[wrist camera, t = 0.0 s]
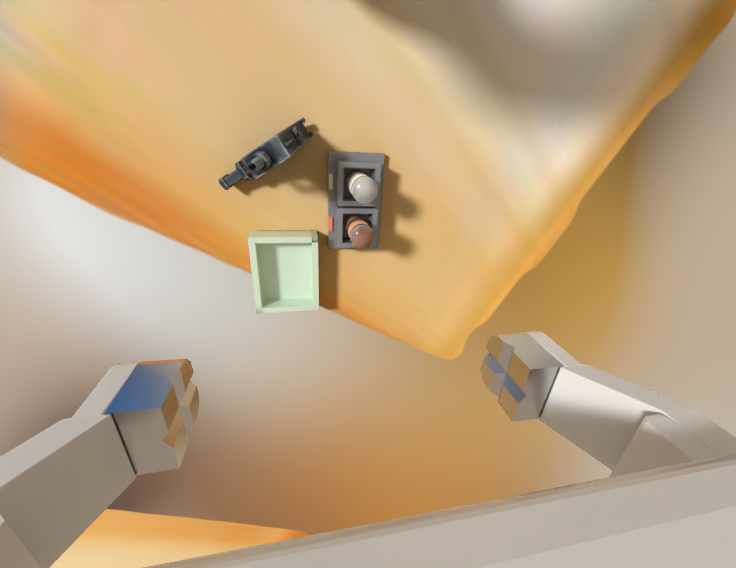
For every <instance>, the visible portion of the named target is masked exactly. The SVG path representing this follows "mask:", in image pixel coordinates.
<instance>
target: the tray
mask: <svg viewBox="0 0 736 568" xmlns="http://www.w3.org/2000/svg"><path fill="white" fill-rule="evenodd" d="M248 244H249V253H250V262H251V271H252V279H253V288H254V297H255V306H256V313H272V312H273V313H274V312H292V311H309V310H310V311H311V310H319V276H318V235H317V231H250V233H249V236H248Z"/></svg>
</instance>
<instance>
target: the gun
mask: <svg viewBox="0 0 736 568" xmlns="http://www.w3.org/2000/svg"><path fill="white" fill-rule="evenodd" d="M304 123H305V119H304V118H302V119H301V120H299V121H298V122H296V123H294V124H293V125H291V126H289V127H288V128H286V129H285V130H283V131H281V132H280V133H278V134H277V135H275V136H274V137H272V138H271V139H269V140H268V141H266V142H265V143H263V144H262V145H261V146H259V147H258V148H256V149H255V150H253V151H252V152H250V153H249V154H247V155H246V156H245V157H243V158H242V159H241V160H240V161H239V162H237V163H236V164H235V166H236V170H235V171H234V172H232V173H231V174H227V175H225V176H224V177H222V178H221V179H219V183H220V184H221V185H222V187H223V188H224V189H225V190H228V189H229V188H231V187H232V186H233V185H234V184H235V183H236V182H237V181H239V180H240V179H242V178H244V179H246V180H249V179H251V178H252V177H254V178H255V179H257V178H259V177H260V176H262V175H263V174H265V173H266V172H268V171H269V170H271V169H272V168H274V167H276V166H277V165H279V164H280V163H282V162H283V161H285V160H286V159H288V158H289V157H291V156H292V155H293V154H294V153H295V152H296V151H297V150H298V149H299V148H300V147H301V146H302V145H303V144H304V143H305V142H306V141H307V140H308V139H309V138H311V137H312V136H314V134H313V132H309V133H308V132H307V130H306V128H305V127H304V125H303V124H304Z"/></svg>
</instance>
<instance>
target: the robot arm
mask: <svg viewBox="0 0 736 568" xmlns="http://www.w3.org/2000/svg"><path fill="white" fill-rule="evenodd" d="M486 348H487V350H488V351H489V354H488V355H487V356H486V357H485V358H484V359H483V362H482V366H481V372H482V378H483V380H484V383H485V385H486V387H487V388H488V389H489V391H491V392H492V393H494V394H496V395H498V396H499V400H498V403H499V404H500V406H501V407H502V408H503V410H504V411H505V412H506V414H507V415H508V417H509V418H510V419H511V421H521V420H530V419H539V418H540V420H541V421H542V422H543V423H545V424H546V425H548V426H549V427H550V428H552V429H553V430H555V431H556V432H558V433H559V434H561V435H562V436H563V437H565V438H566V439H568V440H569V441H571V442H572V443H574V444H575V445H576V446H578V447H579V448H581V449H582V450H584V451H585V452H587V453H588V454H589V455H591V456H592V457H594V458H595V459H597V460H598V461H600V462H601V463H602V464H604V465H605V466H607V467H608V468H610V469H611V470H613V472H612V473H611V475H610V477H609V478H604V479H598V480H593V481H588V482H583V483H578V484H573V485H568V486H562V487H557V488H552V489H547V490H542V491H537V492H532V493H526V494H521V495H516V496H511V497H506V498H501V499H496V500H491V501H485V502H481V503H475V504H470V505H465V506H460V507H455V508H449V509H444V510H439V511H434V512H429V513H423V514H419V515H413V516H408V517H403V518H398V519H393V520H387V521H382V522H378V523H372V524H367V525H362V526H356V527H352V528H346V529H341V530H336V531H331V532H325V533H320V534H315V535H310V536H305V537H300V538H294V539H289V540H284V541H279V542H274V543H269V544H263V545H258V546H253V547H248V548H243V549H237V550H232V551H227V552H222V553H217V554H212V555H206V556H201V557H196V558H191V559H186V560H181V561H175V562H170V563H165V564H160V565H155V566H150V567H144V568H736V438H735V437H734V436H732V435H731V434H730V433H728V432H727V431H725V430H724V429H722V428H721V427H720V426H718V425H717V424H715V423H714V422H713V421H711V420H710V419H708V418H707V417H706V416H704V415H703V414H701V413H700V412H699V411H697V410H696V409H694V408H692V407H690V406H688V405H685V404H683V403H680V402H678V401H675V400H673V399H670V398H668V397H666V396H663V395H661V394H658V393H656V392H653V391H651V390H648V389H646V388H644V387H641V386H639V385H636V384H634V383H631V382H629V381H626V380H624V379H621V378H619V377H616V376H614V375H612V374H609V373H607V372H604V371H602V370H599V369H597V368H595V367H592V366H589V365H587V364H585V365H582V364H580V363H579V362H578V361H577V360H576V359H574V358H573V357H572V356H571V355H570V354H568V353H567V352H566V351H565V350H564V349H562V348H561V347H560V346H559V345H557V344H556V343H555V342H554V341H553V340H551V339H550V338H549V337H548V336H547V335H545V334H544V333H542V332H539V331H532V332H523V333H518V334H505V335H495V336H494V335H493V336H491V337H490V338H489V340H488V343H487V346H486ZM192 374H193V368H192V365H191V362H190V361H189V360H188V359H178V360H161V361H144V362H130V363H118V364H116V365H114V366H112V367H111V368H110V370H109V371H108V372H107V374H106V375H105V376H104V377H103V378H102V380H101V381H100V382H99V384H98V385H97V386H96V387H95V389H94V390H93V391H92V393H91V394H90V395H89V396H88V398H87V399H86V400H85V402H84V403H83V404H82V405H81V407H80V408H79V409H78V410H77V412H76V413H75V414H74V416H73V417H72V418H69V419H62V420H61V421H59V422H57V423H56V424H54V425H52V426H51V427H49V428H47V429H46V430H44V431H42V432H41V433H39V434H37V435H36V436H34V437H32V438H31V439H29V440H27V441H26V442H24V443H23V444H21V445H19V446H17V447H16V448H14V449H12V450H11V451H9V452H8V453H6V454H4V455H2V456H1V457H0V568H49V567H50V566H51V565H52V564H53V563H54V562H55V561H56V560H57V559H58V558H59V557H60V556H61V555H62V554H63V553H64V552H65V551H66V550H67V549H68V548H69V547H70V546H71V544H72V543H73V542H74V541H75V540H76V539H77V538H78V537H79V536H80V535H81V534H82V533H83V532H84V531H85V530H86V529H87V528H88V527H89V526H90V525H91V524H92V523H93V522H94V521H95V520H96V519H97V518H98V517H99V515H100V514H101V513H102V512H103V511H104V510H105V509H106V508H107V507H108V506H109V505H110V504H111V503H112V502H113V501H114V500H115V499H116V498H117V497H118V496H119V495H120V494H121V493H122V491H124V489H126V487H127V486H128V485H129V484H130V483H131V482H132V481H133V480H134V479H135V478H136V475H140V474H146V473H152V472H158V471H164V470H170V469H176V468H180V465H181V462H182V459H183V456H184V453H185V450H186V447H187V445H188V442H189V441H188V438H187V433H186V432H187V431H188V430H190V429H191V428H192V427H193V426H194V424H195V421H196V418H197V415H198V407H199V395H198V389H197V386H196V385H195V384H193V383H192V382H191V381H190V380H191V377H192Z"/></svg>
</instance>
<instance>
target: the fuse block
mask: <svg viewBox="0 0 736 568" xmlns="http://www.w3.org/2000/svg"><path fill="white" fill-rule="evenodd" d="M384 156H385V154H383V153H361V152H340V151H328V248H329V249H334V248H356V247H355V246H354V245H353V244H352V242H351V240H350V237H349V235H348V233H347V231H346V229H345V227H344V221H345V219H346V217H347V216H348V215H350V214H360V215H361V216H362V217H363V218H364V219H365V221H366V222H367V224H368V225H369V226H370V227H371V229H372V230H373V232H374V234H375V240H374V242H373V244H372V245H371V246H370V247H369V248H378V239H379V226H380V212H381V198H382V184H383V170H384ZM354 170H358V171H361V172H363V173H364V174H365V175H366V176H368V177H370V178H371V179H373V180H374V181H375V182H376V184H377V187H378V193H377V196H376V198H375V199H374V200H373V201H372V202H370V203H367V204H363V203H360V202H358V201H357V200H356V199H355V198H354V197H353V195H352V194H351V193H350V192H349V191H348V189H347V188H346V185H345V179H346V176H347V175H348V174H349V173H350V172H351V171H354Z"/></svg>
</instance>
